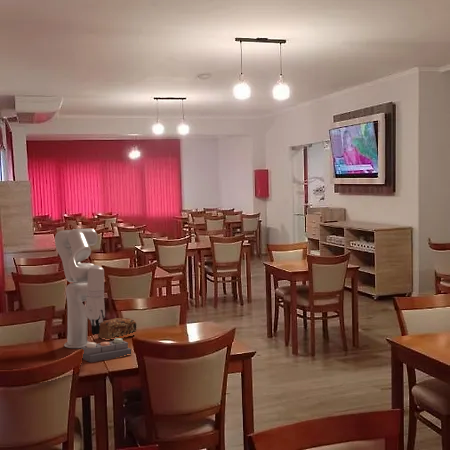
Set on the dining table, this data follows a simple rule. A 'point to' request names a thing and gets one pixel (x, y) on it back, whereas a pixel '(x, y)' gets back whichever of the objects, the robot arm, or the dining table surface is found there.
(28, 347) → the dining table surface
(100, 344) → the terracotta button
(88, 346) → the cream button
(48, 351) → the dining table surface
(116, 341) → the sage button
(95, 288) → the robot arm
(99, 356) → the button panel
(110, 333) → the bread
